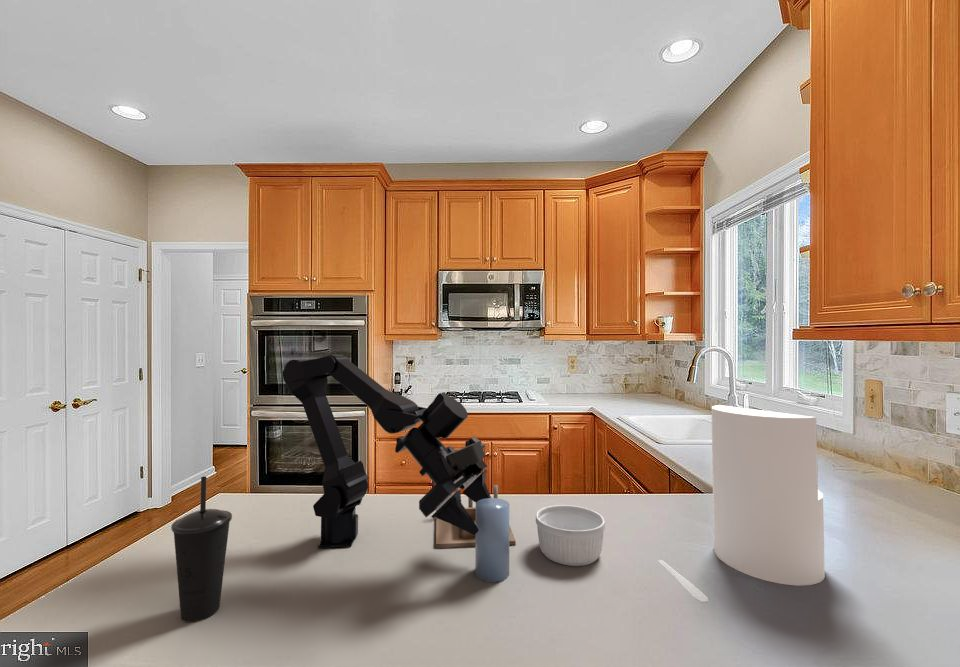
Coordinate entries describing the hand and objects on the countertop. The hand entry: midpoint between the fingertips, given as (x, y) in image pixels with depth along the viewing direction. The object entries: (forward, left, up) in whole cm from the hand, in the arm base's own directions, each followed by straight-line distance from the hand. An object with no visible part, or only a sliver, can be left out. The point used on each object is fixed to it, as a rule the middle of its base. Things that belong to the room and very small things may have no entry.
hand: (486, 522), depth 75 cm
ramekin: (+17, +5, -9) cm, 20 cm away
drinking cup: (-44, -8, -9) cm, 45 cm away
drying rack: (-1, +18, -9) cm, 20 cm away
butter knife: (+33, +1, -9) cm, 34 cm away
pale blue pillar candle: (+1, -1, -9) cm, 9 cm away
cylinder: (+53, -1, -9) cm, 54 cm away
